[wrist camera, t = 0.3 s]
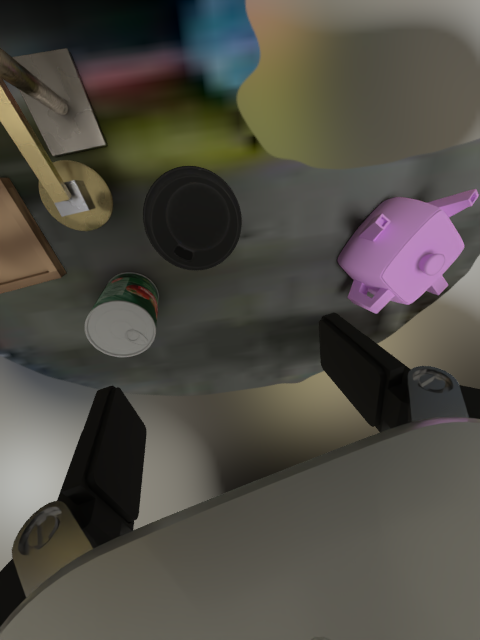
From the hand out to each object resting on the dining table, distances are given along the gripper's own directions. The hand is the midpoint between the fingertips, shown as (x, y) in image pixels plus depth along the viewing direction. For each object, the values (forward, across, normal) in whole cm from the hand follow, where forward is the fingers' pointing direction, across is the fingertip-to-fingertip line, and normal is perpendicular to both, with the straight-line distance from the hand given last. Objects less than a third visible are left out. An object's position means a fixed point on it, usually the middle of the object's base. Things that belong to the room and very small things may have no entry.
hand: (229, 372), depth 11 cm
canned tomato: (+31, +11, +6) cm, 33 cm away
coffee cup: (+31, -1, -4) cm, 31 cm away
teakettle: (+31, -33, +9) cm, 46 cm away
